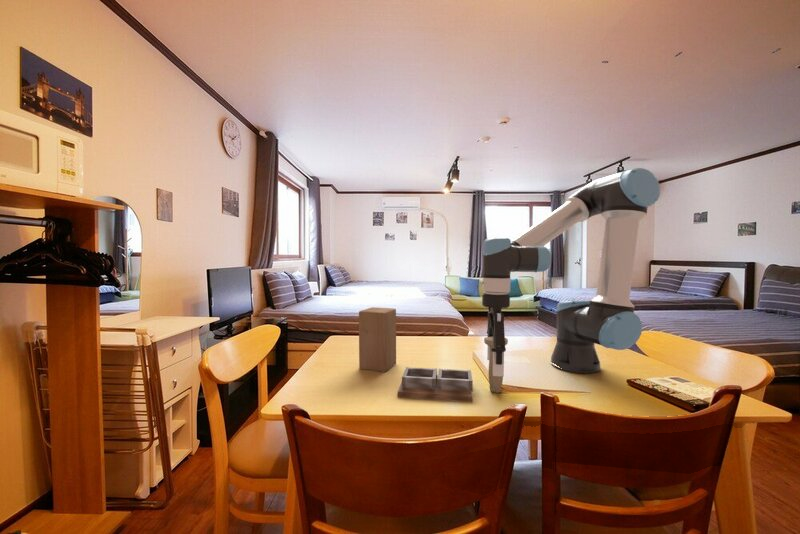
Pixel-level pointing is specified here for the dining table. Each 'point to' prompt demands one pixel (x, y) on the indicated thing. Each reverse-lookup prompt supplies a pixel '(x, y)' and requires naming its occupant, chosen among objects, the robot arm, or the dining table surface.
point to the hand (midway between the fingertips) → (494, 367)
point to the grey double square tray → (436, 384)
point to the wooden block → (377, 339)
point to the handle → (493, 380)
